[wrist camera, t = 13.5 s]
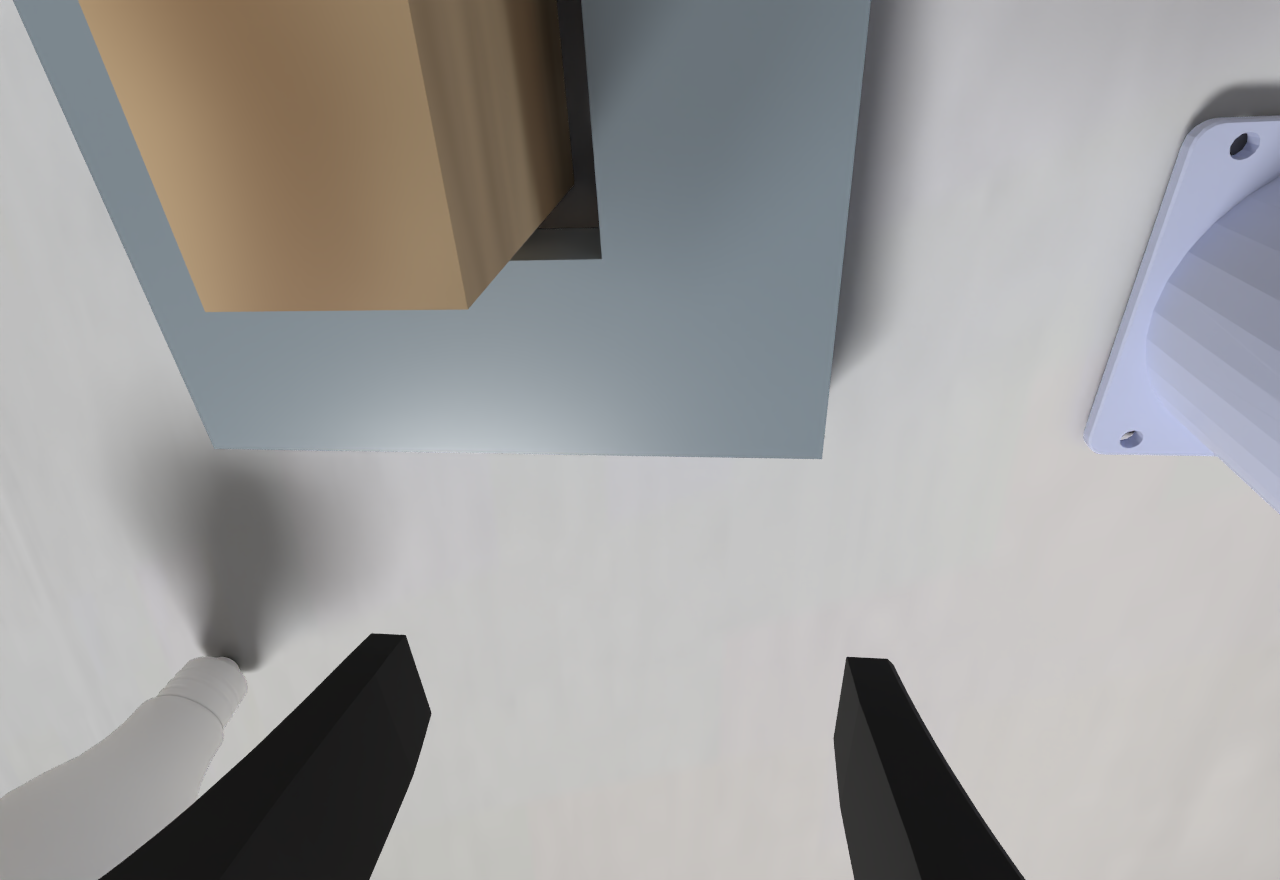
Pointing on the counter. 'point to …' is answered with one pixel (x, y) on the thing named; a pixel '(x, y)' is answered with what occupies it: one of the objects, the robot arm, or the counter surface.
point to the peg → (343, 142)
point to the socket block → (562, 261)
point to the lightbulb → (121, 781)
